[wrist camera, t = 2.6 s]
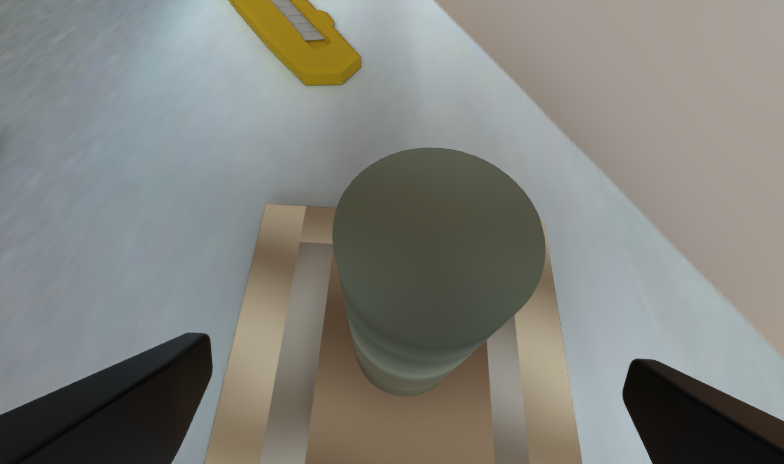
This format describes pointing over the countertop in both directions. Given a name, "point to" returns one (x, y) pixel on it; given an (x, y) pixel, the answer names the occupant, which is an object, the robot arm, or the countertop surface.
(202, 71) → the countertop surface
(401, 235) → the grey-green cylinder
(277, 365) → the wooden frame
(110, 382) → the robot arm
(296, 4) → the utility knife
